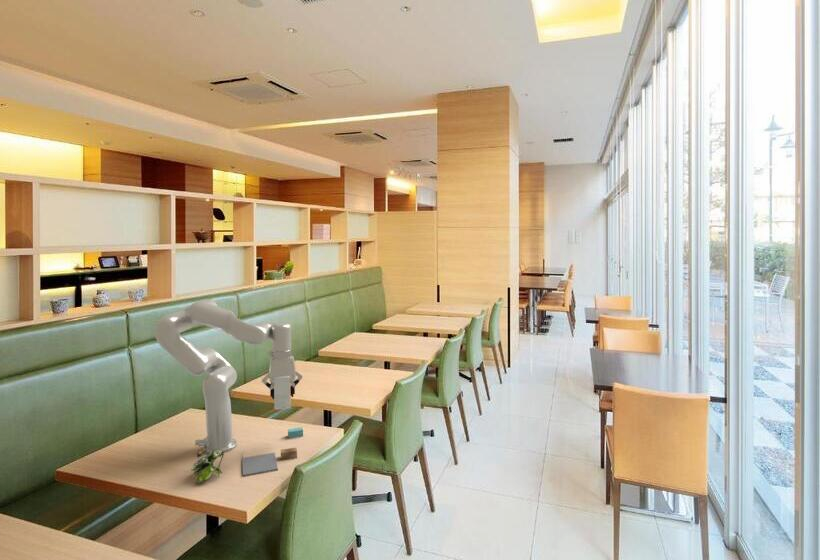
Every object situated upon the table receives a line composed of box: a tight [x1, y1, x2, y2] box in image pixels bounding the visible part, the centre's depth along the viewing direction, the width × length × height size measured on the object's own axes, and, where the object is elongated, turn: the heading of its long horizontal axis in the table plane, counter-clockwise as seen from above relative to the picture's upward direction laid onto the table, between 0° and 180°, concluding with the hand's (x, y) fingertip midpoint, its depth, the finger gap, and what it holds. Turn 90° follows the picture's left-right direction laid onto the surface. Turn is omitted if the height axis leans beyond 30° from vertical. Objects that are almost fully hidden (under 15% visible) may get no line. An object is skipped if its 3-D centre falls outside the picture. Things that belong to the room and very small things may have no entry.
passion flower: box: [190, 449, 225, 485], centre depth 168 cm, size 11×11×12 cm
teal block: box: [287, 427, 304, 439], centre depth 201 cm, size 6×3×3 cm, turn 111°
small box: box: [273, 376, 292, 410], centre depth 190 cm, size 8×6×13 cm
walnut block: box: [280, 447, 298, 461], centre depth 182 cm, size 6×3×3 cm, turn 106°
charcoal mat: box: [241, 452, 279, 477], centre depth 176 cm, size 12×14×1 cm
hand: (282, 396), depth 190 cm, fingers closed on small box, 6 cm apart
